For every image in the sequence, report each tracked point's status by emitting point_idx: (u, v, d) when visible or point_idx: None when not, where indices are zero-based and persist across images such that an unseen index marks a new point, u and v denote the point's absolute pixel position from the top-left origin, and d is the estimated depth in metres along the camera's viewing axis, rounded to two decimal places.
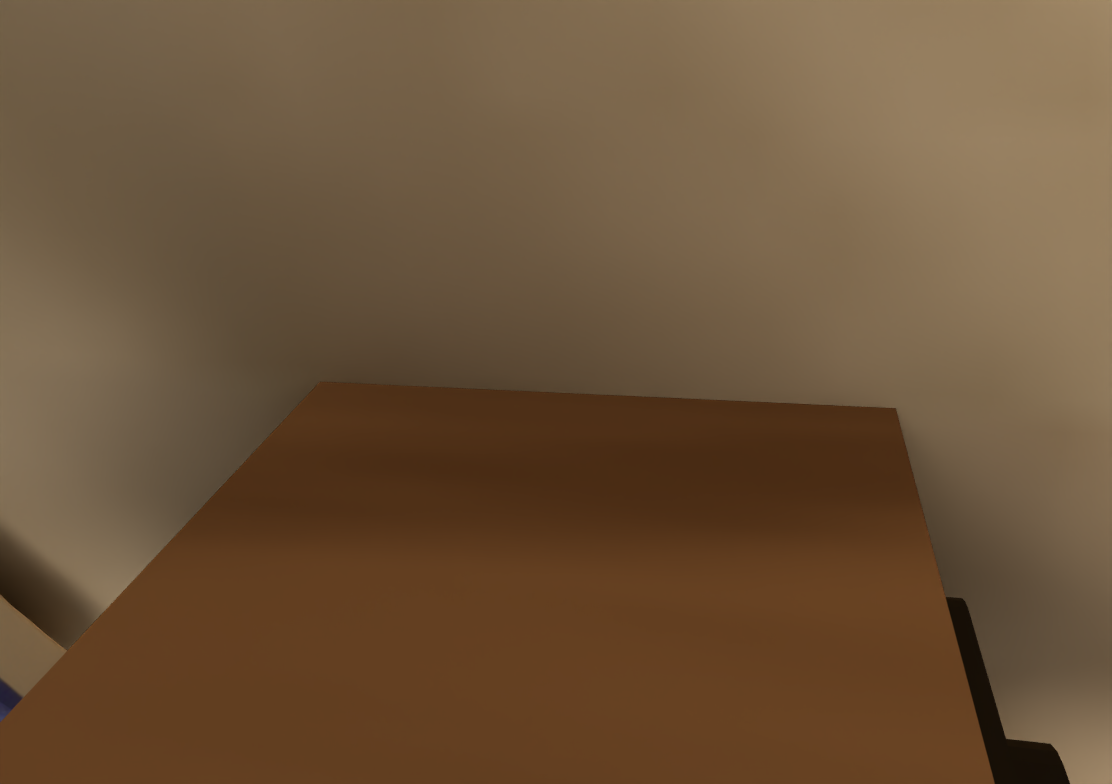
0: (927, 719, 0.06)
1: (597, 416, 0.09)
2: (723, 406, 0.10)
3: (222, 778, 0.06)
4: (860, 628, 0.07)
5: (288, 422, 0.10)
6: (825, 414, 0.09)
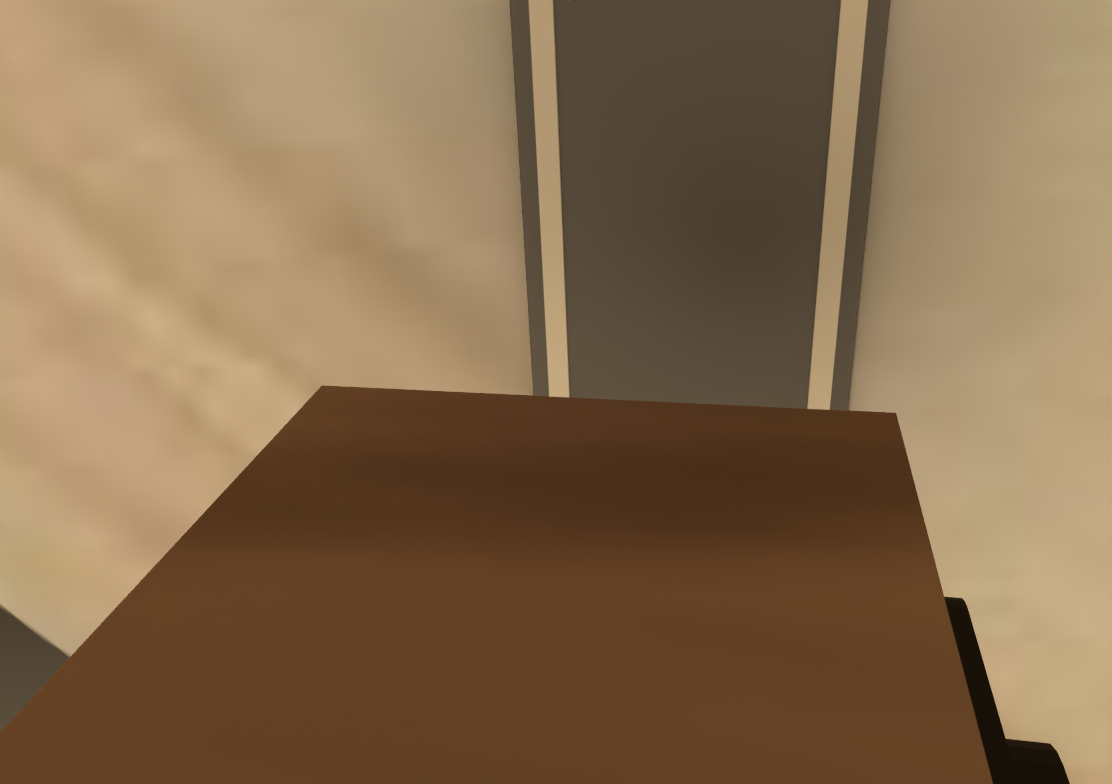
0: (927, 725, 0.06)
1: (598, 420, 0.09)
2: (724, 411, 0.10)
3: (225, 783, 0.06)
4: (861, 634, 0.07)
5: (289, 426, 0.10)
6: (825, 419, 0.09)
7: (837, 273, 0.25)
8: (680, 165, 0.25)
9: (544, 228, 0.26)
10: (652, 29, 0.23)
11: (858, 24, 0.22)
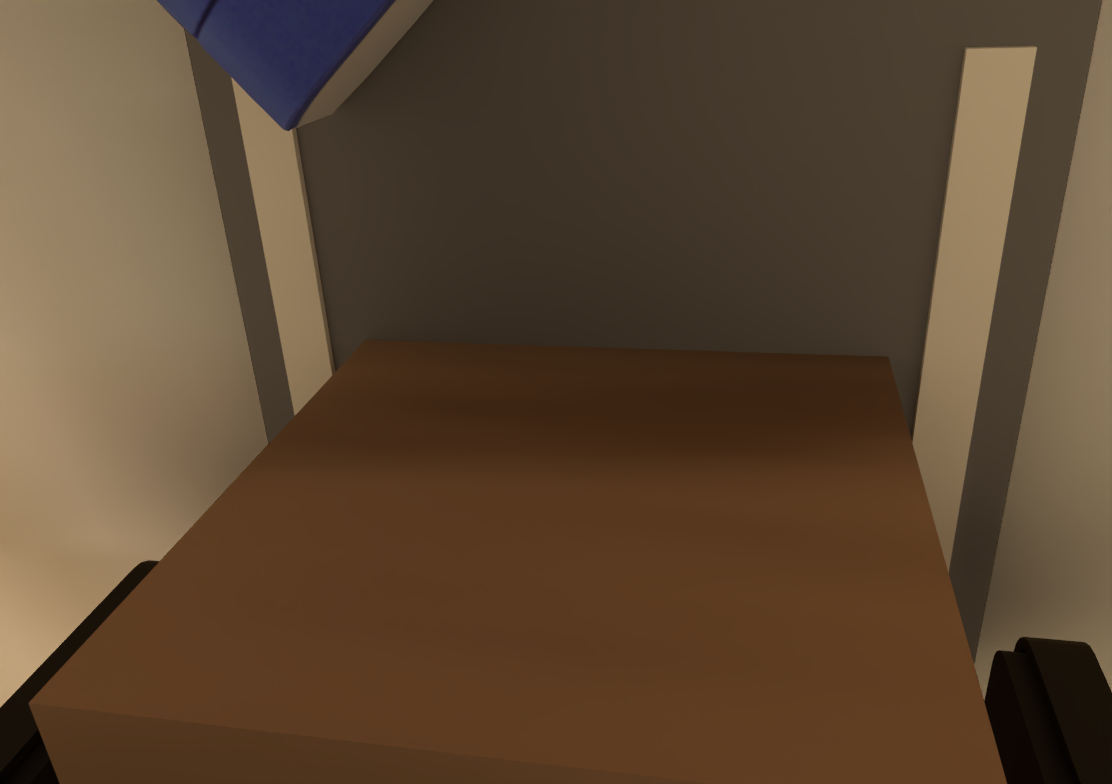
0: (911, 593, 0.07)
1: (619, 365, 0.10)
2: (733, 356, 0.11)
3: (314, 643, 0.07)
4: (854, 528, 0.08)
5: (340, 374, 0.11)
6: (825, 362, 0.10)
7: None
8: None
9: None
10: (514, 181, 0.10)
11: (994, 184, 0.09)
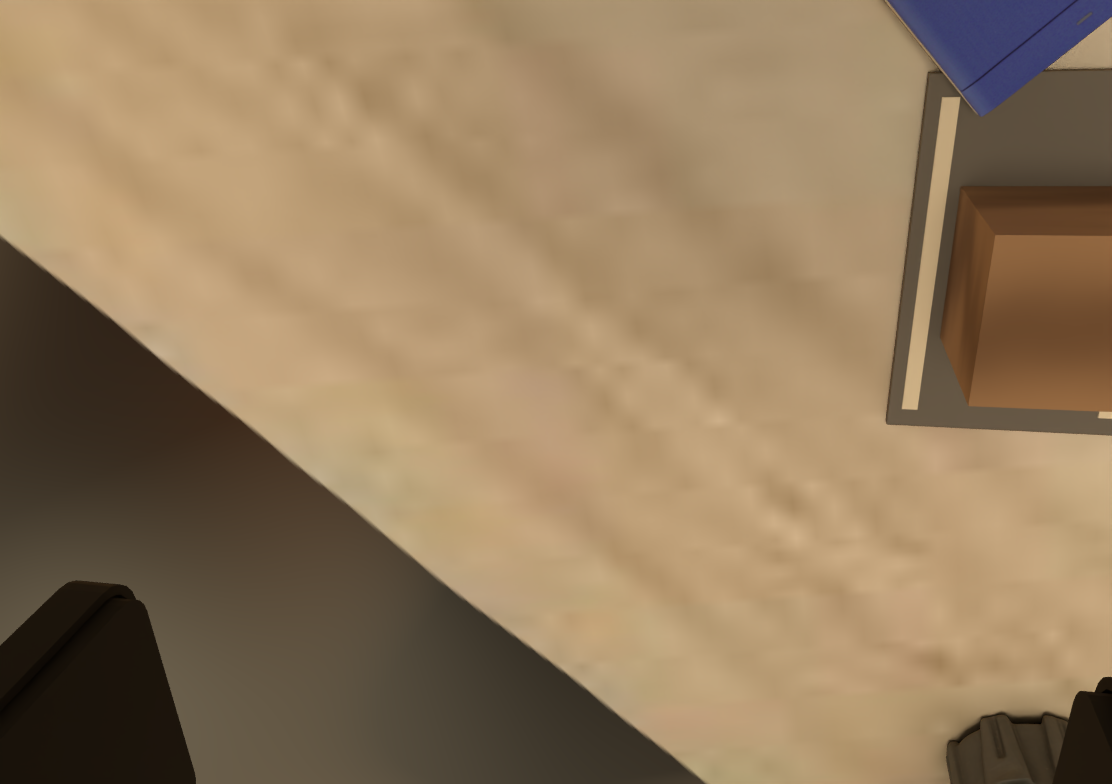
0: None
1: (1056, 189, 0.34)
2: (1090, 186, 0.34)
3: (1045, 228, 0.30)
4: None
5: (967, 193, 0.34)
6: None
7: None
8: None
9: (923, 266, 0.37)
10: (1027, 132, 0.34)
11: None
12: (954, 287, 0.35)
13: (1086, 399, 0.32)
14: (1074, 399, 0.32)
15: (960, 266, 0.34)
